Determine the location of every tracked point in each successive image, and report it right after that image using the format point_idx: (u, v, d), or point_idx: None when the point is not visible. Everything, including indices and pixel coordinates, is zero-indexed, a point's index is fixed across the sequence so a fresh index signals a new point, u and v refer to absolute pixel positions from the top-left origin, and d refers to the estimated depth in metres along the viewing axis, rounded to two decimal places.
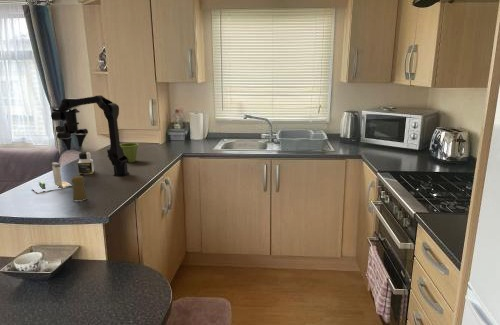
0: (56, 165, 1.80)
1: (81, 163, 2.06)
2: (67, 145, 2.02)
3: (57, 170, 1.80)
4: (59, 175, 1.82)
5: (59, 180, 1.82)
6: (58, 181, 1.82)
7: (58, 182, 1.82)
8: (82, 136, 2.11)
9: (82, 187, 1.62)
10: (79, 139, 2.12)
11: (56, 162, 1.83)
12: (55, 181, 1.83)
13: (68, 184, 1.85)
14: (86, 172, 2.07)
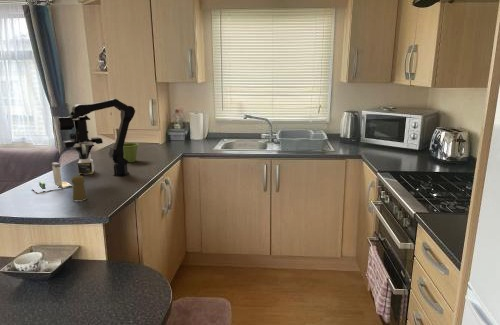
0: (56, 165, 1.80)
1: (81, 163, 2.06)
2: (79, 154, 1.91)
3: (57, 170, 1.80)
4: (59, 175, 1.82)
5: (59, 180, 1.82)
6: (58, 181, 1.82)
7: (58, 182, 1.82)
8: (88, 147, 1.91)
9: (82, 187, 1.62)
10: (86, 150, 1.93)
11: (56, 162, 1.83)
12: (55, 181, 1.83)
13: (68, 184, 1.85)
14: (86, 172, 2.07)
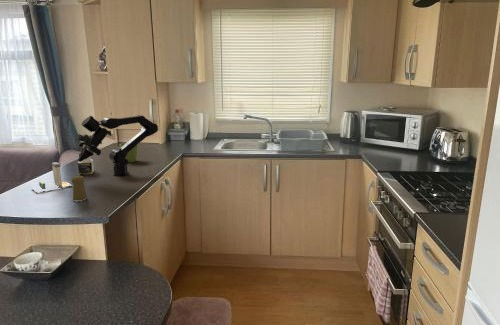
0: (56, 165, 1.80)
1: (81, 163, 2.06)
2: (83, 157, 1.89)
3: (57, 170, 1.80)
4: (59, 175, 1.82)
5: (59, 180, 1.82)
6: (58, 181, 1.82)
7: (58, 182, 1.82)
8: None
9: (82, 187, 1.62)
10: None
11: (56, 162, 1.83)
12: (55, 181, 1.83)
13: (68, 184, 1.85)
14: (86, 172, 2.07)
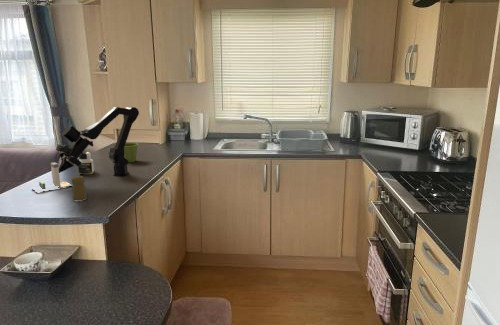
0: (55, 165, 1.79)
1: (81, 163, 2.06)
2: (62, 168, 1.83)
3: (56, 170, 1.80)
4: (58, 175, 1.81)
5: (58, 180, 1.81)
6: (57, 181, 1.81)
7: (57, 182, 1.81)
8: None
9: (82, 187, 1.62)
10: None
11: None
12: (54, 181, 1.83)
13: (68, 184, 1.85)
14: (86, 172, 2.07)
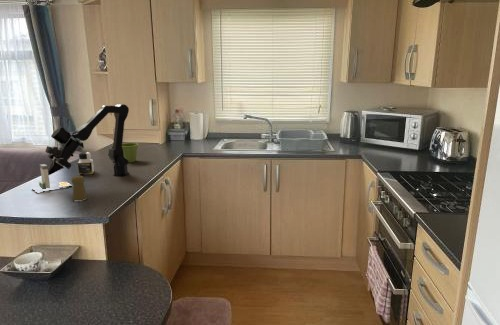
0: (44, 167, 1.76)
1: (81, 163, 2.06)
2: (52, 170, 1.80)
3: (45, 172, 1.77)
4: (47, 177, 1.78)
5: (47, 182, 1.78)
6: (46, 183, 1.78)
7: (46, 184, 1.78)
8: None
9: (82, 187, 1.62)
10: None
11: (44, 164, 1.80)
12: None
13: (68, 184, 1.85)
14: (86, 172, 2.07)
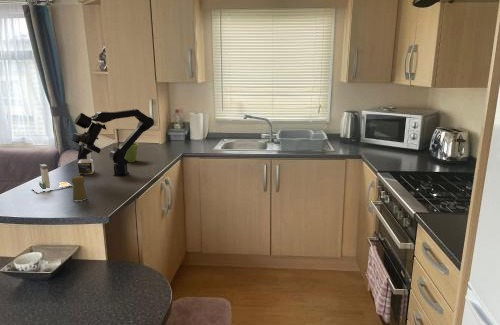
0: (44, 167, 1.76)
1: (81, 163, 2.06)
2: (82, 155, 1.91)
3: (45, 172, 1.77)
4: (47, 177, 1.78)
5: (47, 182, 1.78)
6: (46, 183, 1.78)
7: (46, 184, 1.78)
8: None
9: (82, 187, 1.62)
10: None
11: (44, 164, 1.80)
12: None
13: (68, 184, 1.85)
14: (86, 172, 2.07)
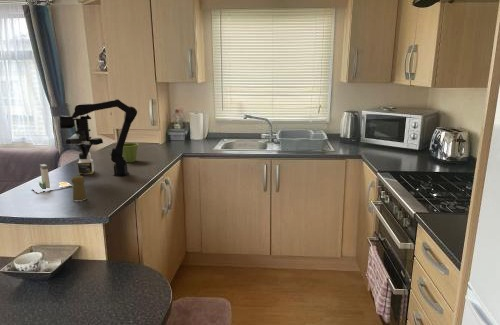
0: (44, 167, 1.76)
1: (81, 163, 2.06)
2: (87, 151, 1.96)
3: (45, 172, 1.77)
4: (47, 177, 1.78)
5: (47, 182, 1.78)
6: (46, 183, 1.78)
7: (46, 184, 1.78)
8: None
9: (82, 187, 1.62)
10: None
11: (44, 164, 1.80)
12: None
13: (68, 184, 1.85)
14: (86, 172, 2.07)
